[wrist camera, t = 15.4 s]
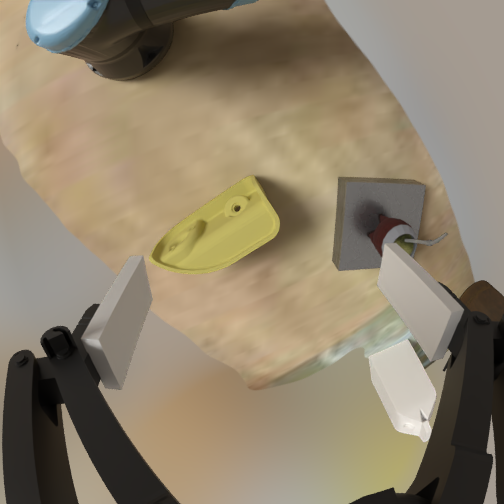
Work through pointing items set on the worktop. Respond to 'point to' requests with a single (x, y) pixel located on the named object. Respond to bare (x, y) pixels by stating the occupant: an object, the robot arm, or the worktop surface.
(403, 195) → the stand
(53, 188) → the worktop surface
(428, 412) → the milk
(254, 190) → the plastic component
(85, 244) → the worktop surface
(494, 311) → the wooden container
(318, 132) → the worktop surface
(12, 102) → the worktop surface
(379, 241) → the mate gourd
